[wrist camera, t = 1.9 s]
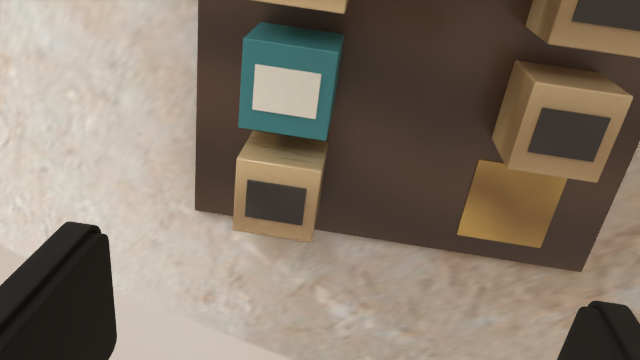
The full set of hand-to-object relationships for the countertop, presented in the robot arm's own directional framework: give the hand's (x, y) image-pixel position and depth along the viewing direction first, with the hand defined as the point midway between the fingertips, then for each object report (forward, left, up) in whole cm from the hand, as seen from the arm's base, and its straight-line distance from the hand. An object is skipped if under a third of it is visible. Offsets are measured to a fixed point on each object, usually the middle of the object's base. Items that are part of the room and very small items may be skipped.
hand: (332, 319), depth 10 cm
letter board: (0, +3, -18) cm, 18 cm away
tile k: (+5, -3, -17) cm, 18 cm away
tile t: (0, +9, -17) cm, 19 cm away
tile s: (0, -3, -17) cm, 17 cm away
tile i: (-6, +9, -17) cm, 20 cm away
